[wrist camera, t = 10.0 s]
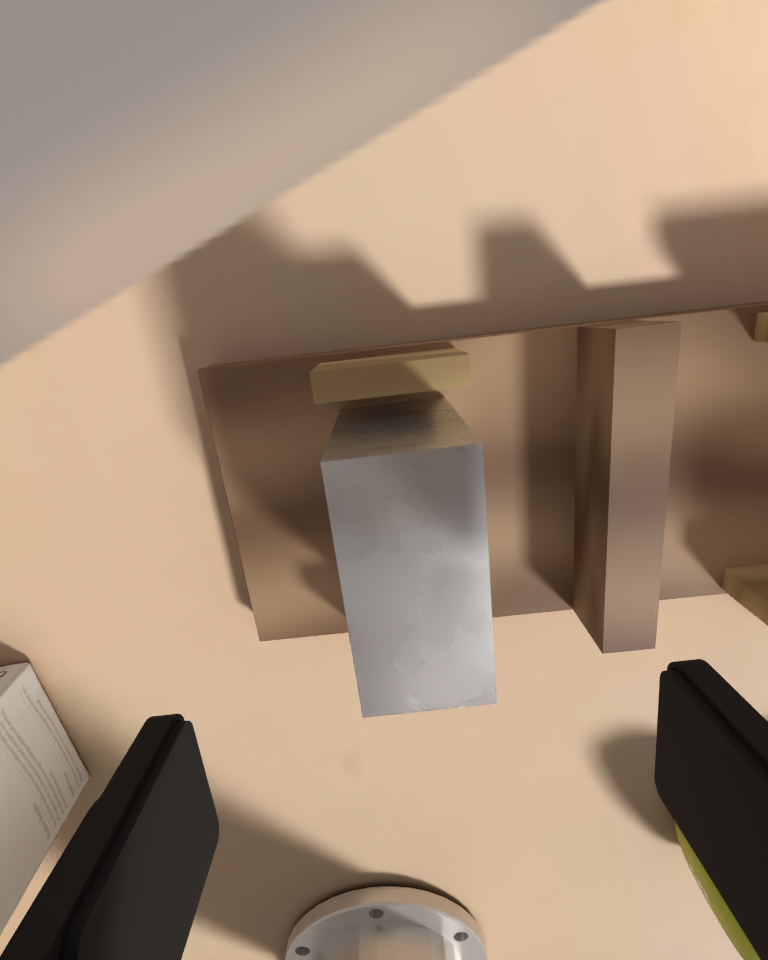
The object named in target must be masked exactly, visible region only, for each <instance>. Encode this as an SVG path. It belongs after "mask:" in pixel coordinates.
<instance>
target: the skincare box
mask: <svg viewBox="0 0 768 960" xmlns="http://www.w3.org/2000/svg"><path fill="white" fill-rule="evenodd" d="M88 780H89V775H88V772H87V770H86V769H85V767H84V765H83V763H82V761H81V759H80V758H79V756H78V754H77V752H76V750H75V748H74V746H73V745H72V743H71V741H70V739H69V737H68V735H67V733H66V731H65V729H64V727H63V725H62V724H61V722H60V720H59V718H58V716H57V714H56V712H55V710H54V709H53V707H52V705H51V703H50V701H49V699H48V697H47V695H46V693H45V692H44V690H43V688H42V686H41V684H40V682H39V680H38V678H37V676H36V674H35V672H34V670H33V668H32V666H31V664H30V663H19V664H13V665H7V666H3V667H0V935H1V933H2V931H3V930H4V928H5V926H6V924H7V922H8V921H9V919H10V917H11V915H12V914H13V912H14V910H15V908H16V907H17V905H18V903H19V901H20V899H21V898H22V896H23V894H24V892H25V891H26V889H27V887H28V885H29V883H30V882H31V880H32V878H33V876H34V875H35V873H36V871H37V869H38V868H39V866H40V864H41V862H42V860H43V859H44V857H45V855H46V853H47V852H48V850H49V848H50V846H51V844H52V842H53V841H54V839H55V837H56V836H57V834H58V832H59V830H60V829H61V827H62V825H63V823H64V822H65V820H66V818H67V816H68V814H69V813H70V811H71V809H72V807H73V805H74V804H75V802H76V800H77V798H78V797H79V795H80V793H81V791H82V790H83V788H84V786H85V784H86V783H87V781H88Z"/></svg>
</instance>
